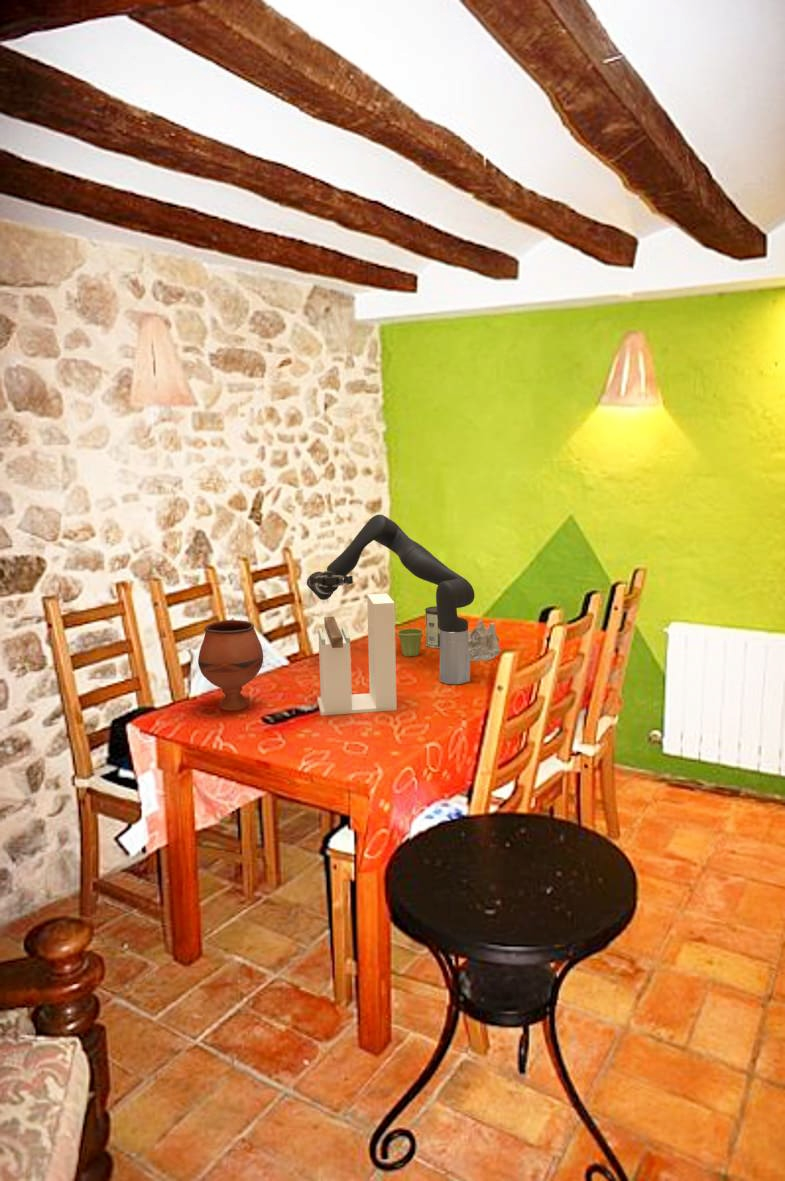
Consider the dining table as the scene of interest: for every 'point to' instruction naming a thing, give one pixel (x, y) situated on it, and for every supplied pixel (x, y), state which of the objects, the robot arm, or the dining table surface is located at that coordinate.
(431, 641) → the coffee can
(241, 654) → the goblet
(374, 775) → the dining table surface
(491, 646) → the ceramic cottage
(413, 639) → the plant pot
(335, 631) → the walnut baton
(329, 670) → the stand
